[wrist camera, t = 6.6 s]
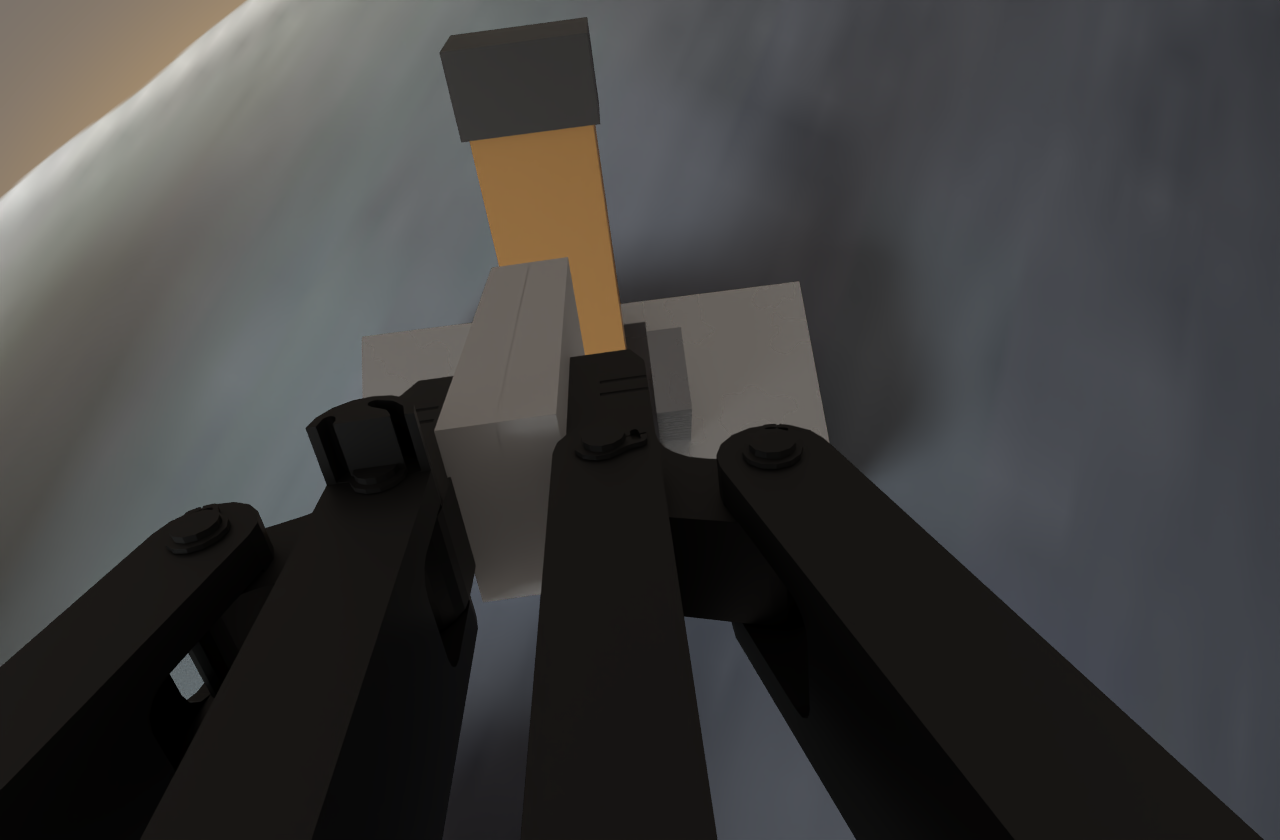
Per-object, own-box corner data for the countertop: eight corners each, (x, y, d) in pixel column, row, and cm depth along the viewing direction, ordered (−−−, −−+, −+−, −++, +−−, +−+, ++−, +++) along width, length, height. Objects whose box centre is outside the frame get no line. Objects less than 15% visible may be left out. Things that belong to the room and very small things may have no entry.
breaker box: (814, 523, 35) (863, 476, 26) (416, 571, 36) (318, 543, 26) (781, 337, 38) (814, 231, 28) (410, 383, 38) (318, 295, 29)
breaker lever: (648, 440, 29) (594, 32, 21) (531, 454, 30) (431, 54, 21) (645, 403, 31) (593, 15, 23) (534, 416, 31) (444, 36, 23)
